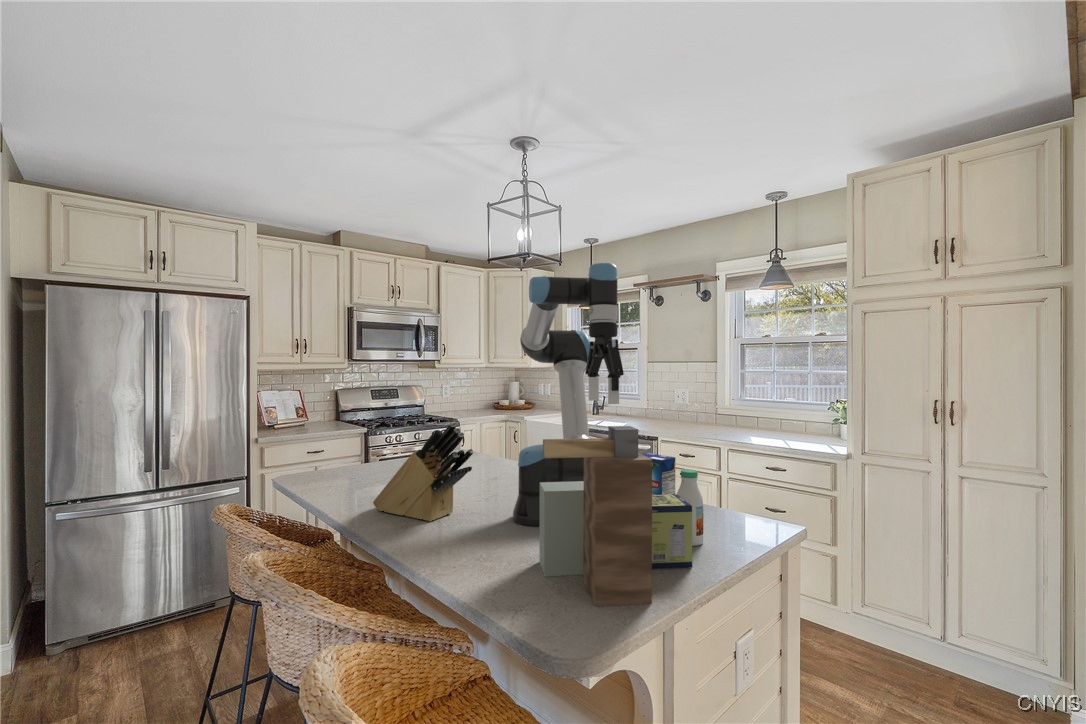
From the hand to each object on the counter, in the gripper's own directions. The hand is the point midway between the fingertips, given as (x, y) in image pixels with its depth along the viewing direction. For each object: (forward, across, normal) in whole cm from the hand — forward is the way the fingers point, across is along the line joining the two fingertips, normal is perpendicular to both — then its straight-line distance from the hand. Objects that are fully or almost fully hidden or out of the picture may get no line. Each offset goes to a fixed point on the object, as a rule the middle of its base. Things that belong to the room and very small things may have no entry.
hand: (603, 402), depth 136 cm
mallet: (+10, +22, -12) cm, 27 cm away
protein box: (+40, +9, +11) cm, 42 cm away
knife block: (+40, -47, -44) cm, 76 cm away
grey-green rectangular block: (+40, +7, -12) cm, 42 cm away
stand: (+40, +22, -6) cm, 46 cm away
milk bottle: (+40, -1, +26) cm, 48 cm away
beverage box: (+40, -14, +22) cm, 48 cm away
